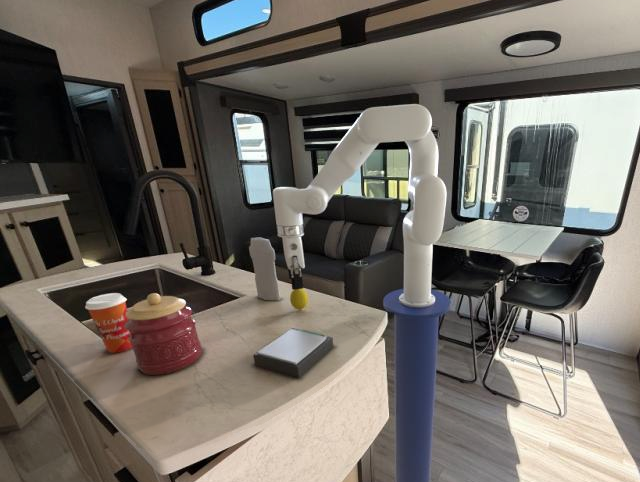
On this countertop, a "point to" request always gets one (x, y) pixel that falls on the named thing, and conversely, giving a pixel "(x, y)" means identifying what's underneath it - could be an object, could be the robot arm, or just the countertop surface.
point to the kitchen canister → (162, 334)
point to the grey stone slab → (264, 269)
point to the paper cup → (110, 320)
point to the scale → (294, 352)
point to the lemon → (299, 299)
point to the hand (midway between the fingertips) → (295, 283)
